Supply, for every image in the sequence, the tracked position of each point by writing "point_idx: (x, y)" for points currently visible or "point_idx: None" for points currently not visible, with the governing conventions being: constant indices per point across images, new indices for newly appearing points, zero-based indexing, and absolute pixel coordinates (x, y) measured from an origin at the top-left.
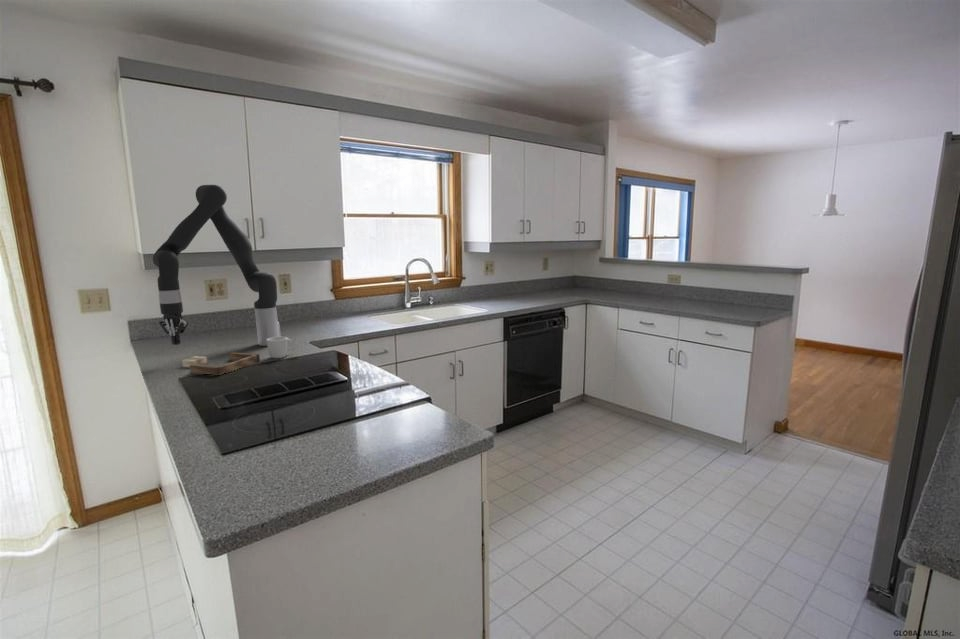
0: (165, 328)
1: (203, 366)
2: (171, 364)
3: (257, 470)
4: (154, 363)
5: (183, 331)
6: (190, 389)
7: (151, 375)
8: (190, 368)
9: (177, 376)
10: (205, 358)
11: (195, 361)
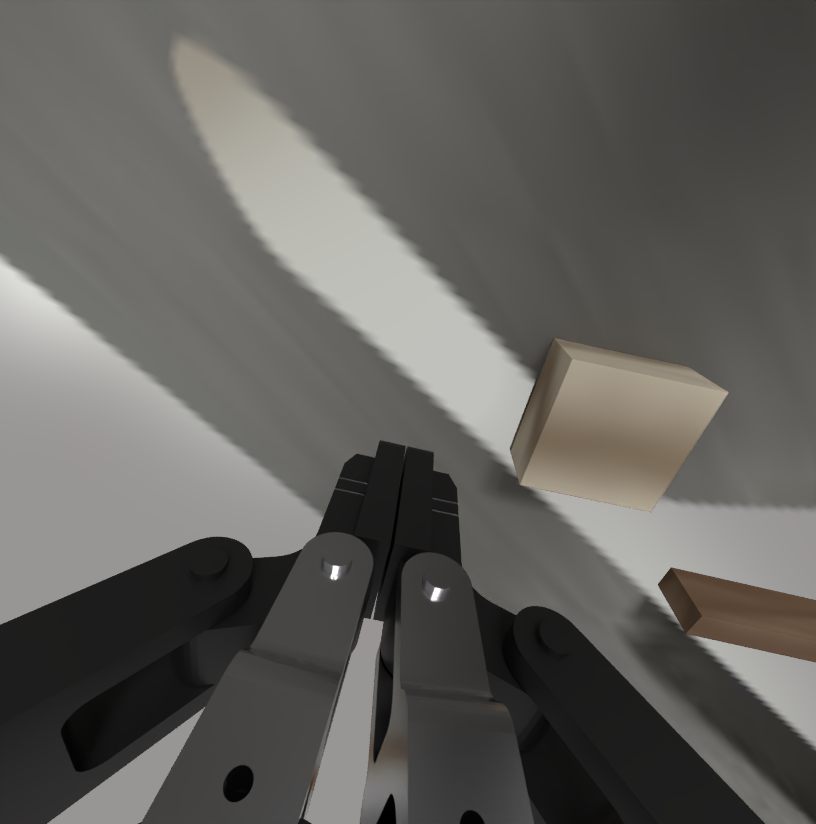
0: (109, 769)
1: (805, 655)
2: (365, 389)
3: None
4: (188, 357)
5: (608, 683)
6: (762, 751)
7: None
8: (681, 616)
9: (600, 620)
10: (712, 402)
11: (654, 496)
